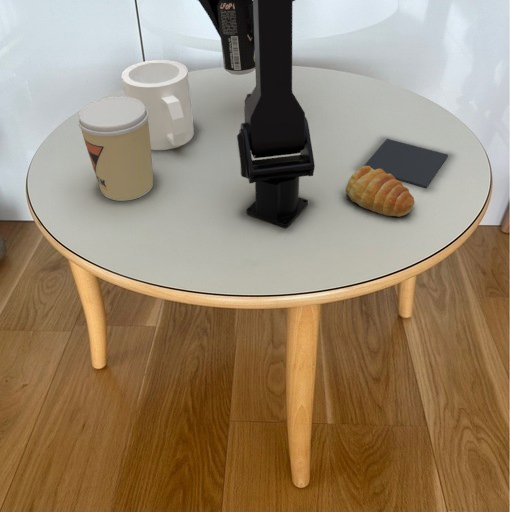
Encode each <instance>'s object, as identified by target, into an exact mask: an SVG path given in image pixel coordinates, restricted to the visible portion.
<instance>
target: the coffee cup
mask: <svg viewBox="0 0 510 512" xmlns="http://www.w3.org/2000/svg"><path fill="white" fill-rule="evenodd" d="M148 118H149V113H148V110H147V108H146V107H145V105H144V104H143V103H142V102H141V101H139V100H137V99H135V98H131V97H125V96H123V95H121V96H117V95H116V96H109V97H108V96H107V97H103V98H99V99H95V100H93V101H91V102H89V103H87V104H86V105H84V106H83V107H81V109H80V111H79V112H78V117H77V124H78V127H79V128H80V130H81V134H82V137H83V140H84V144H85V146H86V150H87V153H88V156H89V159H90V162H91V165H92V168H93V171H94V175H95V178H96V182H97V183H98V186H99V189H100V192H101V194H102V195H103V196H104V197H106V198H107V199H109V200H112V201H118V202H127V201H133V200H136V199H137V200H138V199H139V198H142V197H143V196H146V195H147V194H148V193H149V192H150V191H151V190H152V188H153V187H154V171H153V158H152V150H151V145H150V133H149V123H148Z"/></svg>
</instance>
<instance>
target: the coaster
mask: <svg viewBox="0 0 510 512" xmlns="http://www.w3.org/2000/svg"><path fill="white" fill-rule="evenodd" d="M448 157H449V154H447V153H443V152H440V151H436V150H432V149H428V148H424V147H421V146H417V145H413V144H410V143H406V142H401V141H397V140H395V139H394V140H393V139H390V138H386V139H385V140H384V142H383V143H382V144H381V145H380V146H379V147H378V148H377V150H376V151H375V152H374V153H373V154H372V155H371V156H370V158H369V159H368V160H367V161H366V162H365V164H364V165H363V166H370V167H371V168H372V169H374V170H376V169H383V170H384V171H385V172H386V174H392V175H393V176H394V177H395V178H396V180H398V181H401V182H403V183H408V184H411V185H415V186H418V187H421V188H425V189H427V188H428V187H429V185H430V183H431V182H432V180H433V179H434V178H435V176H436V174H437V173H438V172H439V170H440V168H442V166H443V164H444V163H445V161H446V160H447V158H448Z"/></svg>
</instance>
